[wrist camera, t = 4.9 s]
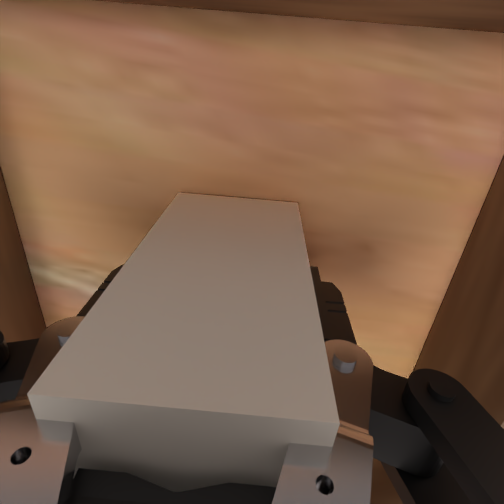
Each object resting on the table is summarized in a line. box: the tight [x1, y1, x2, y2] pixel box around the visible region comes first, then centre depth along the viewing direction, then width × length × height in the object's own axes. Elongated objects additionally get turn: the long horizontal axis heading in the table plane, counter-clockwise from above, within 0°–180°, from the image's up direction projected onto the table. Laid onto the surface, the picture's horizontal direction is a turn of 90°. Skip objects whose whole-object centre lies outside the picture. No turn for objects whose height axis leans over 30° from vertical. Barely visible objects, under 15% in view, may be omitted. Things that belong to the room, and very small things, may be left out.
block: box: [27, 192, 340, 492], centre depth 10 cm, size 4×4×9 cm
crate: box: [0, 0, 504, 504], centre depth 12 cm, size 20×18×5 cm
